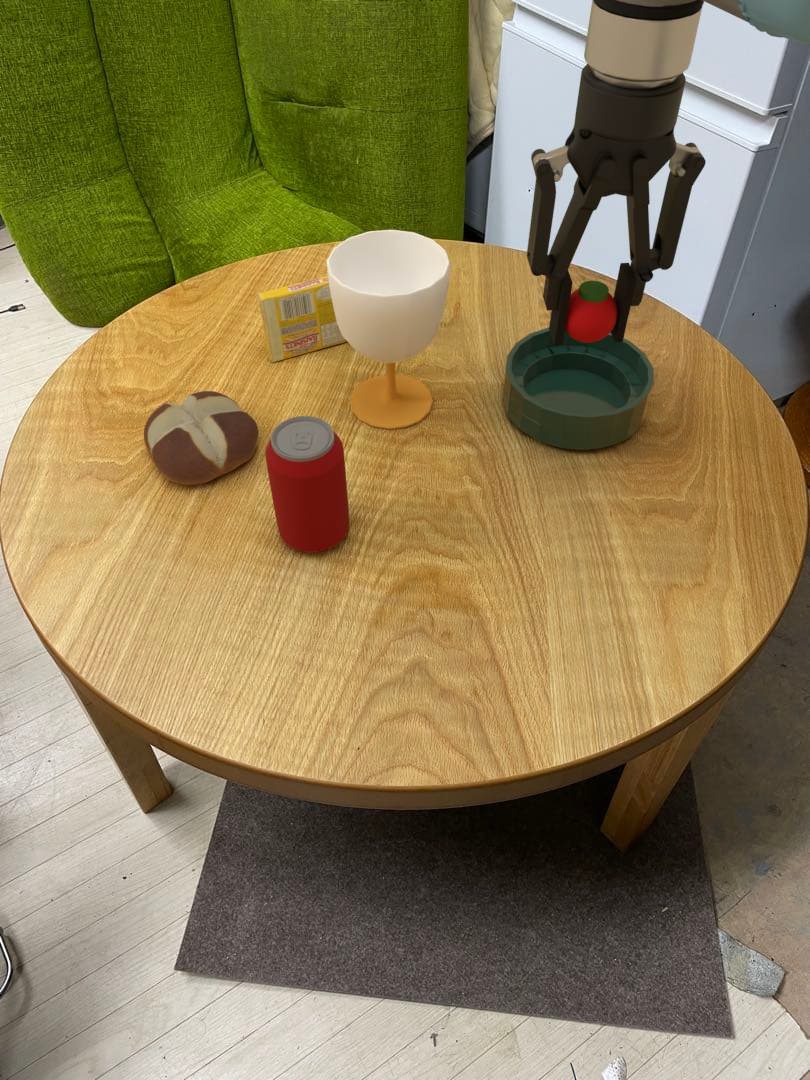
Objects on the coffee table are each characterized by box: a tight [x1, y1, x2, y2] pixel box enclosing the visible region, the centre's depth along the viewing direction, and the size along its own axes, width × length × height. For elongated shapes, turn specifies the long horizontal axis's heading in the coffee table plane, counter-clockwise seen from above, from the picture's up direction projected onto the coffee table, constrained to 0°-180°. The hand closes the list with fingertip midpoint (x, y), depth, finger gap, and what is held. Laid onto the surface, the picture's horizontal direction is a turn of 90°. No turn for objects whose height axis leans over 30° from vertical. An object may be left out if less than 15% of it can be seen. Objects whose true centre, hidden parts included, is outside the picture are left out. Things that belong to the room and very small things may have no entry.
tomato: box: [565, 280, 617, 343], centre depth 79 cm, size 5×5×5 cm
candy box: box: [257, 275, 348, 363], centre depth 99 cm, size 16×2×8 cm, turn 115°
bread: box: [143, 390, 259, 486], centre depth 88 cm, size 11×11×5 cm
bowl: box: [502, 326, 655, 451], centre depth 92 cm, size 15×15×5 cm
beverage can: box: [264, 415, 350, 553], centre depth 78 cm, size 7×7×12 cm
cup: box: [325, 229, 451, 430], centre depth 88 cm, size 12×12×17 cm
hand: (585, 334), depth 80 cm, fingers closed on tomato, 5 cm apart
